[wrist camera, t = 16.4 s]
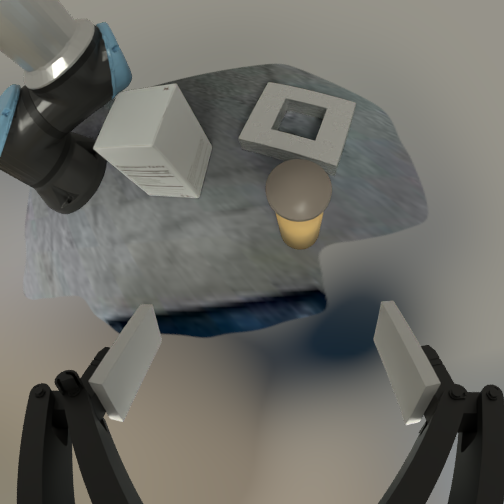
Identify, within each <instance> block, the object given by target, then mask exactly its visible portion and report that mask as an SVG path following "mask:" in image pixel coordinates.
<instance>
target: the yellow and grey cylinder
mask: <svg viewBox="0 0 504 504" xmlns="http://www.w3.org/2000/svg"><path fill="white" fill-rule="evenodd" d="M331 193H332V186H331V181H330V178H329V176H328V175H327V173H326V172H325V171H324V169H323V168H321V167H320V166H319V165H317V164H316V163H314V162H311V161H309V160H304V159H292V160H288V161H285V162H283V163H281V164H279V165H278V166H277V167H275V168H274V169H273V170H272V172H271V173H270V174H269V176H268V179H267V181H266V195H267V199H268V202H269V204H270V206H271V208H272V209H273V210H274V211H275V212H276V216H277V220H278V225H279V229H280V233H281V237H282V239H283V241H284V242H285V243H286V244H287V245H288V246H290V247H291V248H294V249H306V248H309V247H310V246H312V245H313V244H314V243H315V242H316V240H317V238H318V236H319V231H320V226H321V221H322V216H323V212H324V210H325V209H326V208H327V206H328V204H329V202H330V198H331Z"/></svg>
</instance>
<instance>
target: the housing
mask: <svg viewBox="0 0 504 504" xmlns="http://www.w3.org/2000/svg"><path fill="white" fill-rule="evenodd" d="M355 106H356V103H354V102H351V101H348V100H344V99H341V98H337V97H334V96H330V95H326V94H322V93H318V92H314V91H310V90H306V89H301V88H297V87H292V86H287V85H282V84H277V83H271V82H268V84H267V86H266V87H265V89H264V91H263V93H262V95H261V97H260V98H259V100H258V102H257V104H256V106H255V108H254V109H253V111H252V113H251V115H250V117H249V119H248V121H247V123H246V125H245V126H244V128H243V130H242V132H241V134H240V136H239V138H238V139H239V142H240V144H241V147H242V150H246V151H250V152H254V153H258V154H262V155H265V156H269V157H273V158H276V159H280V160H283V161H288V160H292V159H304V160H309V161H311V162H314V163H316V164H317V165H319V166H320V167H321V168H323V169H324V171H325V172H326V173H327V174H329V175H332V176H335V174H336V171H337V168H338V165H339V162H340V159H341V155H342V152H343V149H344V146H345V143H346V139H347V136H348V133H349V129H350V126H351V123H352V119H353V116H354V111H355ZM287 110H288V111H292V112H296V113H300V114H304V115H308V116H312V117H316V118H319V119H323V121H322V124H321V127H320V129H319V132H318V135H317V137H316V140H315V141H314V140H310V139H307V138H303V137H300V136H296V135H292V134H288V133H285V132H281V131H278V129H279V127H280V125H281V122H282V120H283V118H284V116H285V114H286V112H287Z"/></svg>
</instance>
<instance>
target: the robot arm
mask: <svg viewBox="0 0 504 504" xmlns="http://www.w3.org/2000/svg"><path fill="white" fill-rule="evenodd" d="M0 51H1V52H2V53H4V54H5V55H6V56H7V57H9V58H10V59H11V60H13V61H14V62H15V63H17V64H18V65H19V66H20V67H22V68H23V69H24V84H25V86H23V87H22V88H21V87H20V85H16V84H13V85H11V86H10V87H9V88H7V89H6V90H5V91H4V93H3V94H2V95H1V96H0V170H2V171H4V172H6V173H8V174H9V175H11V176H13V177H14V178H17V179H18V180H20V181H22V182H23V183H25V184H27V185H29V186H31V187H32V188H34V189H35V190H36V191H37V193H38V194H39V195H40V196H41V198H42V199H43V200H44V201H45V203H46V204H47V205H48V206H49V207H50V208H51V209H53V210H55V211H57V212H59V213H61V214H69V213H72V212H75V211H76V210H78V209H80V208H81V207H82V206H83V205H85V204H86V203H87V202H88V201H89V199H90V198H91V197H92V196H93V194H94V193H95V191H96V190H97V188H98V186H99V184H100V182H101V180H102V178H103V175H104V172H105V167H106V159H105V158H103V157H102V156H101V155H100V154H99V153H97V152H96V151H95V150H94V149H93V147H94V145H95V143H96V141H95V140H94V139H92V138H89V137H86V136H83V135H80V134H76V133H73V132H70V131H72V130H73V129H74V128H75V127H76V126H78V125H79V124H80V123H81V122H82V121H84V120H85V119H86V118H88V117H89V116H90V115H91V114H93V113H94V112H95V111H97V110H98V109H99V108H101V107H102V106H103V105H105V104H106V103H108V102H109V101H110V100H113V99H114V98H115V96H116V95H117V94H118V93H119V92H121V91H122V90H124V89H125V88H126V87H128V85H129V84H130V82H131V80H132V74H131V71H130V68H129V66H128V64H127V62H126V60H125V57H124V55H123V53H122V51H121V49H120V48H119V45H118V43H117V41H116V39H115V37H114V35H113V33H112V31H111V29H110V27H109V26H108V24H107V23H106V22H102V23H100V24H97V25H96V26H95V25H94V24H93V23H92V22H91V21H90V20H88V19H75V20H74V19H73V17H72V16H71V15H70V14H69V12H68V11H67V10H66V9H65V8H64V6H63V5H62V4H61V3H60V2H59V0H0ZM161 342H162V339H161V335H160V332H159V328H158V324H157V321H156V317H155V313H154V309H153V305H152V304H141V305H140V306H139V307H138V309H137V310H136V312H135V313H134V315H133V316H132V317H131V319H130V320H129V322H128V323H127V324H126V326H125V327H124V329H123V330H122V332H121V333H120V335H119V336H118V338H117V339H116V341H115V342H114V343H113V345H112V346H111V348H109V347H105V348H103V349H102V350H101V351H99V352H98V354H97V355H96V357H95V358H94V360H93V361H92V362H91V365H89V367H88V368H87V370H86V371H85V372H84V374H83V375H82V377H81V378H79V376H78V374H77V372H75V371H73V370H66V371H63V372H61V373H60V374H59V375H58V376H57V377H56V379H55V385H56V386H57V388H58V390H59V391H52V390H51V389H50V387H49V386H48V385H47V384H43V383H41V384H38V385H36V386H34V387H33V388H32V390H31V391H30V395H29V399H28V404H27V409H26V414H25V419H24V425H23V432H22V439H21V446H20V455H19V466H18V481H17V504H75V499H74V487H73V471H72V470H73V469H72V444H73V447H74V451H75V455H76V458H77V461H78V464H79V468H80V471H81V474H82V477H83V480H84V483H85V485H86V488H87V491H88V494H89V496H90V499H91V502H92V504H143V503H142V501H141V499H140V497H139V495H138V493H137V492H136V489H135V488H134V486H133V484H132V482H131V480H130V478H129V476H128V473H127V471H126V469H125V467H124V465H123V463H122V461H121V458H120V456H119V454H118V451H117V449H116V447H115V444H114V442H113V439H112V437H111V434H110V432H109V429H108V426H107V424H106V421H105V419H104V418H103V417H104V415H105V412H107V414H108V416H109V417H110V419H113V420H117V421H121V422H124V419H125V417H126V415H127V413H128V411H129V409H130V406H131V404H132V402H133V400H134V398H135V396H136V393H137V392H138V389H139V387H140V385H141V383H142V381H143V379H144V377H145V375H146V373H147V371H148V369H149V367H150V364H151V362H152V360H153V358H154V356H155V354H156V352H157V350H158V348H159V346H160V344H161ZM374 342H375V345H376V347H377V349H378V352H379V354H380V357H381V359H382V362H383V364H384V367H385V370H386V372H387V374H388V377H389V380H390V382H391V385H392V388H393V391H394V394H395V396H396V399H397V402H398V405H399V407H400V410H401V413H402V416H403V419H404V422H405V425H408V424H413V423H417V422H419V421H420V420H421V419H422V417H423V415H424V416H425V418H426V422H425V424H424V425H423V427H422V428H421V430H420V432H419V433H420V434H419V436H418V438H417V440H416V442H415V444H414V446H413V448H412V450H411V452H410V453H409V455H408V457H407V459H406V460H405V462H404V464H403V466H402V467H401V469H400V471H399V472H398V474H397V476H396V477H395V479H394V480H393V482H392V484H391V485H390V487H389V488H388V490H387V491H386V493H385V494H384V496H383V497H382V499H381V500H380V502H379V503H378V504H425V503H426V502H427V500H428V498H429V496H430V494H431V492H432V490H433V488H434V486H435V484H436V482H437V480H438V478H439V476H440V474H441V471H442V469H443V467H444V465H445V463H446V460H447V458H448V455H449V453H450V450H451V448H452V445H453V443H454V440H455V437H456V434H457V433H459V434H458V444H457V453H456V461H455V468H454V474H453V480H452V485H451V491H450V495H449V500H448V504H503V502H504V397H503V393H502V391H501V390H500V388H498V387H497V386H495V385H487V386H485V387H484V388H483V389H482V391H481V392H467V391H466V389H465V388H464V387H462V386H460V385H458V384H454V382H453V381H452V379H451V377H450V375H449V373H448V372H447V370H446V368H445V366H444V365H443V364H442V361H441V360H440V359H439V356H438V354H437V353H436V351H435V350H434V349H433V348H431V347H430V346H429V345H425V346H420V344H419V342H418V341H417V339H416V337H415V336H414V334H413V332H412V330H411V329H410V327H409V325H408V324H407V322H406V320H405V319H404V317H403V316H402V314H401V312H400V311H399V309H398V307H397V306H396V304H395V303H394V301H384V302H381V306H380V312H379V317H378V321H377V326H376V331H375V335H374Z"/></svg>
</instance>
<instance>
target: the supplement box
mask: <svg viewBox="0 0 504 504" xmlns="http://www.w3.org/2000/svg"><path fill="white" fill-rule="evenodd" d="M93 149H94V150H95V151H96V152H97V153H99V154H100V155H101V156H102V157H103V158H105V159H106V160H107V161H108V162H109V163H111V164H112V165H113V166H114V167H116V168H117V169H118V170H119V171H120V172H122V173H123V174H124V175H125V176H126V177H128V178H129V179H130V180H131V181H132V182H134V183H135V184H136V185H137V186H139V187H140V188H141V189H142V190H144V191H145V192H146V193H147V194H148V195H152V196H170V197H187V198H199V197H200V194H201V190H202V186H203V182H204V178H205V174H206V170H207V166H208V162H209V158H210V155H211V151H212V145H211V143H210V142H209V140H208V138H207V136H206V134H205V133H204V131H203V129H202V127H201V126H200V124H199V122H198V120H197V118H196V117H195V115H194V113H193V111H192V110H191V108H190V106H189V104H188V103H187V101H186V99H185V97H184V96H183V94H182V92H181V90H180V89H179V87H178V85H177V84H168V85H161V86H154V87H147V88H141V89H133V90H128V91H123V92H119V93H118V95H117V97H116V99H115V101H114V103H113V105H112V107H111V109H110V112H109V114H108V116H107V118H106V120H105V122H104V124H103V127H102V129H101V131H100V133H99V136H98V138H97V140H96V143H95V145H94V147H93Z"/></svg>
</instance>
